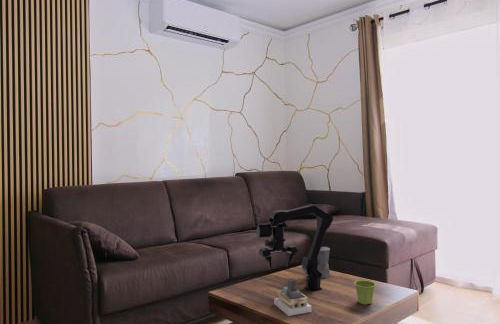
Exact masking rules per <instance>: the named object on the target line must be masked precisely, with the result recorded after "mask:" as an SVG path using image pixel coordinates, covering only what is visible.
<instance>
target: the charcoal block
mask: <svg viewBox="0 0 500 324" xmlns="http://www.w3.org/2000/svg"><path fill="white" fill-rule="evenodd" d="M301 293H302V292H301V291H300V290H299V289H297V291H290V299H291V300H293V299H299V298H301Z"/></svg>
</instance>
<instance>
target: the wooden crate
mask: <svg viewBox="0 0 500 324" xmlns="http://www.w3.org/2000/svg"><path fill="white" fill-rule="evenodd" d="M286 282H287V284H286V285H287V287H288V296H286V295H285V294H284V289H281V290H276V296H278V297H277V298H279V299H280V300H281V301H282V302H284V303H285V304H286V305H287V306H289V307H290V308H291V309H292V308H295V306H296V307H301V305H303V306H307V303H309V299H310V298H309V297H308V296H307V295H305V294H304V293H302V292H301V298H299V299H293V300H291V299H290V291H297V290H298V288H297V287H298V286H297V279H295V278H293V277H292V278H287V281H286Z"/></svg>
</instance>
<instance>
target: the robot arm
mask: <svg viewBox="0 0 500 324" xmlns="http://www.w3.org/2000/svg"><path fill="white" fill-rule="evenodd" d="M310 214H311V215H313V216H315V218H316V230H315V233H314V237H313V240H312V242H311V243H312V244H311V246H310V250H309V253H308V255H307V256H303V258H302V260H301V263H300V264H301V269H302V271H304V273H305V274H306V276H305V277H306V279H305V286H304V288H306V289H307V290H309V291H311V292H312V291H313V292H314V291H320V290H323V288H322V287H321V279H322V278H321V276H322V274H321V273H320V272H319V271H318V270H317V268H318V255H319V252H320V249H321V245H322V244H323V241H324V238H325V235H326V232H327V230H328V229H329V228H330V227H331V225H332V223H333V221H334V217H333V215H332V213H330V212H327V211H324V210H323V209H321V208H319V207H318V206H317V205H315V204H311V203H309V204H308V205H304V206H299V207H295V208H292V209H287V210H285V209H279V210H278V209H277V210H273V211H272V212H271V213H270V217H269V218H268V220H267V222H266V223H258V224H257V226H256V236H257V239H262V238H263V239H264V238H270V237H271V236H272V237H271V239H265V240H264V247H262V248H261V247H260V248H259V250H258V254H259V256H261V257H263V258H265V261H266V263H267V266H268V268H269V270H272V256H271V254H277V253H285V257H286V260H285V262H286V263H285V266H286V267H287V268H289V265H290V264H291V261H292V259H293V257H294V256H295V255H296V253H299V251H298V250H299V249H298V247H297V246H296V245H294V244H290V245H286V246H285V242H286V239H285V228H288V227H289V225H287V224H286V222H287V221H289V220H290V219H293V218H298V217H301V216H305V215H310ZM267 247H268V248H267Z"/></svg>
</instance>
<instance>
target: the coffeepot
mask: <svg viewBox="0 0 500 324" xmlns="http://www.w3.org/2000/svg"><path fill="white" fill-rule="evenodd" d="M330 252H331V248H330V247H328V246H324V243H322V245H321V249H320V252H319V255H318V268H317V270H318V271H319V272H320V273H321V274H322V276H321V278H320V279H328V278H330V277H331V273H330V266H329V259H330Z"/></svg>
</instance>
